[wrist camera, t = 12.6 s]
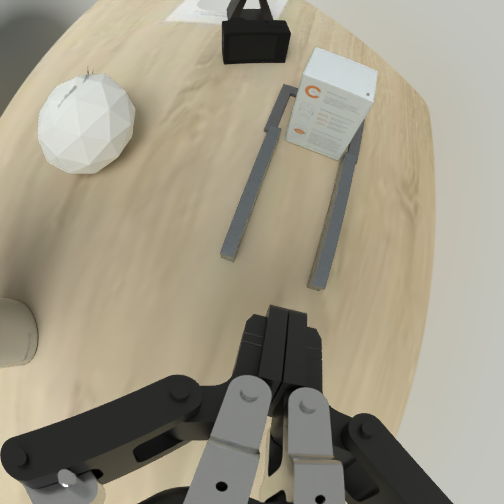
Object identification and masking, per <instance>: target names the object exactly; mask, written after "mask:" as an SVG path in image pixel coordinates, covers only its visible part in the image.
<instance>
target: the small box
mask: <svg viewBox="0 0 504 504" xmlns="http://www.w3.org/2000/svg"><path fill="white" fill-rule="evenodd" d="M377 74H378V71H376V70H374V69H371V68H369V67H367V66H364V65H362V64H360V63H357V62H355V61H353V60H350V59H348V58H345V57H342V56H340V55H337V54H335V53H332V52H329V51H326V50H323V49H321V48H318V47H315V49H314V51H313V53H312V55H311V57H310V59H309V61H308V63H307V65H306V67H305V69H304V71H303V73H302V77H301V81H300V85H299V89H298V93H297V96H296V100H295V104H294V107H293V111H292V114H291V118H290V121H289V125H288V129H287V133H286V136H285V141H287V142H290V143H293V144H296V145H299V146H301V147H304V148H306V149H309V150H312V151H314V152H317V153H319V154H322V155H325V156H327V157H330V158H332V159H335V160H337V161H338V160H339V159H340V157H341V156H342V154H343V153H344V151H345V149H346V148H347V146H348V145H349V143H350V142H351V140H352V138H353V137H354V135H355V133H356V132H357V130H358V128H359V127H360V125H361V123H362V122H363V120H364V118H365V117H366V115H367V113H368V112H369V110H370V108H371V107H372V105H373V103H374V97H375V89H376V82H377Z"/></svg>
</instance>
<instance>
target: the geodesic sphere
mask: <svg viewBox="0 0 504 504" xmlns="http://www.w3.org/2000/svg"><path fill="white" fill-rule="evenodd" d="M135 111H136V109H135V107H134V106H133V104H132V102H131V100H130V98H129V97H128V95H127V93H126V91H125V89H124V88H122V87H121V86H120V85H119V84H117V83H116V82H115V81H114V80H113V79H111V78H110V77H109V76H108V75H106V74H95V75H93V72H92V75H89V72H88V69H87V75H83V76H78V77H75V78H73V79H71V80H69V81H66V82H64V83H62V84H60V85H58V86H56V87H55V88H54V90H53V91H52V93H51V94H50V96H49V97H48V99H47V100H46V102H45V104H44V105H43V107H42V109H41V110H40V112H39V123H38V140H39V143H40V145H41V148H42V150H43V153H44V155H45V157H46V160H47V162H48V163H50V164H52V165H54V166H55V167H57V168H59V169H61V170H63V171H65V172H67V173H69V174H95V173H97V172H98V171H99V170H101V169H102V168H104V167H105V166H107V165H108V164H110V163H111V162H113V161H114V160H115V159H117V157H118V156H119V155H120V153H121V152H122V150H123V149H124V148H125V146H126V145H127V143H128V142H129V140H130V139H131V138H132V134H133V126H134V118H135Z"/></svg>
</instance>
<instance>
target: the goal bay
mask: <svg viewBox="0 0 504 504" xmlns="http://www.w3.org/2000/svg"><path fill="white" fill-rule="evenodd" d="M297 93H298V88H295V87H292V86H288V85H285V84H284V85H283V87H282V89H281V91H280V94H279V96H278V98H277V101H276V103H275V105H274V108H273V110H272V112H271V115H270V117H269V119H268V122H267V124H266V126H265V129H264V132H268V129H269V127H270V125H272V126H275V127H278V124H279V122H280V119H281V117H282V114H283V112H284V109H285V107H286V104H287V102H288V99H289V97H290V95H291V96H294V97H296V96H297ZM364 120H365V118H364ZM364 120H363V122H362V123H361V125H360V127H359V128H358V130H357V132H356V133H355V135H354V137H353V138H352V140H351V142H350V143H349V148H348V153H349V154H352V155H354V156H357V157H356V162H355V165H356V163H357V160H358V155H359V149H360V144H361V138H362V132H363V126H364Z"/></svg>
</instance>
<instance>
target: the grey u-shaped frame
mask: <svg viewBox="0 0 504 504" xmlns="http://www.w3.org/2000/svg"><path fill="white" fill-rule="evenodd" d="M280 132H281V128H278V127H275V126H272V125H270V127H269V129H268V132H267V134H266V137H265V139H264V142H263V144H262V147H261V149H260V152H259V154H258V156H257V159H256V161H255V164H254V166H253V169H252V172H251V174H250V177H249V179H248V182H247V184H246V187H245V189H244V192H243V194H242V197H241V200H240V202H239V205H238V207H237V210H236V213H235V215H234V218H233V220H232V223H231V226H230V228H229V231H228V234H227V236H226V239H225V241H224V244H223V247H222V250H221V252H220V254H221V258H224V259H227V260H230V261H232V262H234V259H235V256H236V253H237V250H238V248H239V245H240V242H241V239H242V237H243V234H244V231H245V228H246V226H247V223H248V220H249V217H250V215H251V212H252V209H253V206H254V204H255V201H256V198H257V196H258V193H259V190H260V187H261V185H262V182H263V179H264V177H265V174H266V171H267V169H268V166H269V163H270V161H271V158H272V155H273V153H274V150H275V147H276V145H277V142H278V139H279V135H280ZM356 157H357V156H354V155H352V154H349V153H347V152H346V153H345V155H344V156H343V158H342V159H341V161H340V165H339V169H338V173H337V177H336V182H335V186H334V190H333V194H332V198H331V202H330V206H329V210H328V214H327V217H326V221H325V225H324V229H323V232H322V236H321V240H320V243H319V247H318V251H317V254H316V258H315V261H314V265H313V268H312V271H311V275H310V278H309V282H308V285H307V287H308V288H311V289H314V290H317V291H320V290H322V289H325V287H326V283H327V280H328V276H329V272H330V269H331V265H332V261H333V258H334V254H335V250H336V246H337V242H338V238H339V234H340V230H341V226H342V222H343V218H344V213H345V209H346V205H347V200H348V196H349V191H350V186H351V182H352V177H353V172H354V167H355V162H356Z"/></svg>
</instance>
